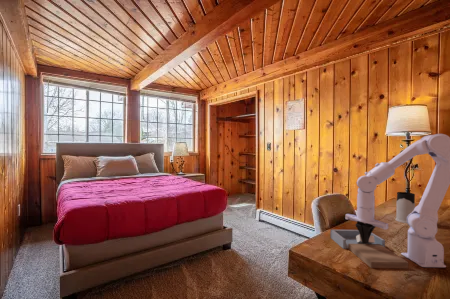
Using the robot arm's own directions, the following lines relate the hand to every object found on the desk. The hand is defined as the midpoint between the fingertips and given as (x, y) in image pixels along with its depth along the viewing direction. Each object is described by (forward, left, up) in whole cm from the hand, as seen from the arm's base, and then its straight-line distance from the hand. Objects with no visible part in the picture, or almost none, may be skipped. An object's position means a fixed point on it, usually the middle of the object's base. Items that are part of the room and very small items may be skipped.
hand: (365, 242), depth 88 cm
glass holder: (+38, -45, -3) cm, 59 cm away
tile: (+3, -2, -1) cm, 4 cm away
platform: (-6, 0, -3) cm, 7 cm away
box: (+6, 0, -3) cm, 6 cm away
